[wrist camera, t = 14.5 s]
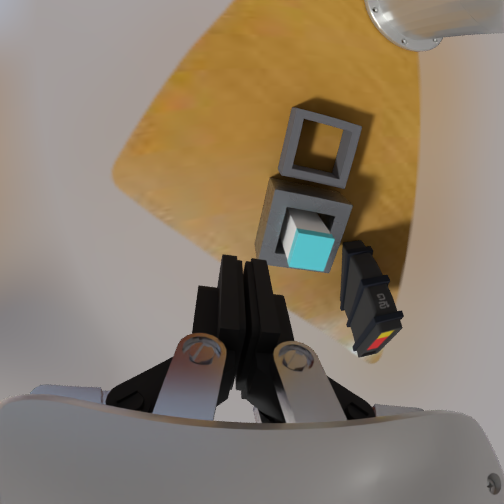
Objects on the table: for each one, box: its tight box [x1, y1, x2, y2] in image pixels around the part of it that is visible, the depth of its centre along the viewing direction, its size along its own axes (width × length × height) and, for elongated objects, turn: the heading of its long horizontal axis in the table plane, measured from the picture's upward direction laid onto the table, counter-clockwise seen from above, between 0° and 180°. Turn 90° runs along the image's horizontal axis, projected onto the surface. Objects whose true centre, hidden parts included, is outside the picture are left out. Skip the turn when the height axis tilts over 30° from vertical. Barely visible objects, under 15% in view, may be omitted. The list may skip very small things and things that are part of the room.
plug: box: [280, 207, 335, 271], centre depth 36 cm, size 4×4×9 cm
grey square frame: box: [278, 107, 362, 189], centre depth 34 cm, size 8×8×3 cm
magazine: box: [340, 240, 404, 357], centre depth 40 cm, size 4×13×15 cm, turn 7°
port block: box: [255, 178, 353, 273], centre depth 38 cm, size 10×10×5 cm
